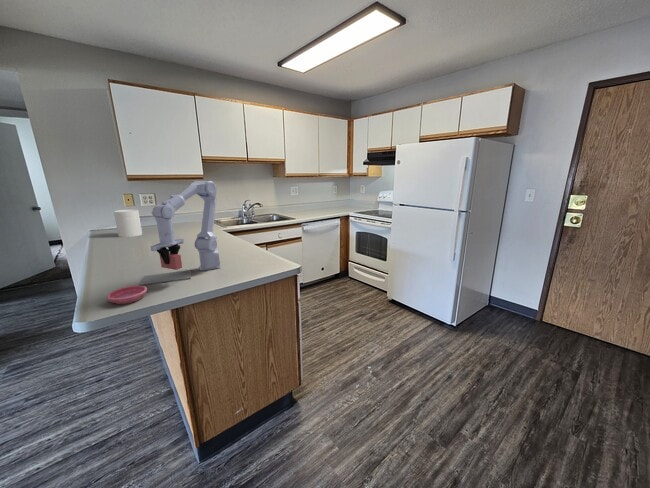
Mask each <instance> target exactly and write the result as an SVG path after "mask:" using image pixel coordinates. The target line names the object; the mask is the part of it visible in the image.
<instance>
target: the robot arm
mask: <svg viewBox="0 0 650 488" xmlns="http://www.w3.org/2000/svg"><path fill="white" fill-rule="evenodd" d="M217 191H218V187H217V186H216V184H215V183H214V182H213V181H212V180H208V181H206V180H200V181H199V180H194V181H193V182H192V183H190V185H189V186H188V187H187V188H185V190H183V191H182V192H180V194H171V195H170V197H169V198H167V199H166V200H163V201H162V202H161V203H160V204H155V206H153V209H152V211H151V214H152V216H153V218H154V219H155V222H156V226H157V233H158V238H159V243H156V244H153V245H150V251H151V252H157V253H158V254H159V256H160V255H161V257H162V259H163V261H164V263H165V264H169V262H170V261H169V253H171V254H178V255H179V251H180V249H181V245H183V244H184V243H185V241H184V238H179V239H176V238H175V231H174V224H173V217H174V216H175V213H176V212H177V211H178V210H180V209H181V208H182V207H184V205H185V202H186V201H188V199H190V198H192V197H194V196H195V195H197V196H199V198H201V199H203V201H204V204H203V212H202V220H201V230H200V232H199V233H197V235H196V238H195V240H194V248H195V249H196V250H197V251H198V254H199V255H198V256H199V264H200V265H199V271H207V270H214V269H220V268H221V260H220V253H219V250H218V249H217V248H218V242H217V236H216V235H215V234H214V232H213V231H214V226H215V225H214V224H215V216H216V208H217Z"/></svg>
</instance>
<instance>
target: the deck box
mask: <svg viewBox="0 0 650 488" xmlns="http://www.w3.org/2000/svg"><path fill="white" fill-rule="evenodd" d="M159 260H160V265H161V268H162V269H163V268H164V269H167V270H169V269H170V270H174V271H175V270H176V271H179V270H180V269H183V263H182V262H183V261H182V255H181V254H179V253H178V254H171V253H170V252H169V261H170V262H169V264H165V263H164V261H163V259H162V257H161V255H160V254H159Z"/></svg>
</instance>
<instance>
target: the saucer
mask: <svg viewBox="0 0 650 488" xmlns="http://www.w3.org/2000/svg"><path fill="white" fill-rule="evenodd" d="M147 291H148V288H147V287H146V285H142V286H139V284H138V285H130V286H125V287H120V288H118V289H115V290H113V291H111V292H109V293H108V294H107V296H106V298H107V300H108V301H109V302H111V303H113V304H115V303H116V305H126V304H125V303H127V304H131V303H130V302H132V303H135V302H137V301H139V299H140V300H142V298H144V296H145V295H146V293H147ZM134 301H135V302H134Z"/></svg>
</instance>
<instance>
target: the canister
mask: <svg viewBox="0 0 650 488" xmlns="http://www.w3.org/2000/svg"><path fill="white" fill-rule="evenodd" d="M113 216H114V220H115V225H116V230H117V235H118V237H119V238H130V237H131V238H132V237H137V236H139V237H140V236H142V235H143V229H142V225H141V219H140V211H139V209H118V210H114V211H113Z"/></svg>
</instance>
